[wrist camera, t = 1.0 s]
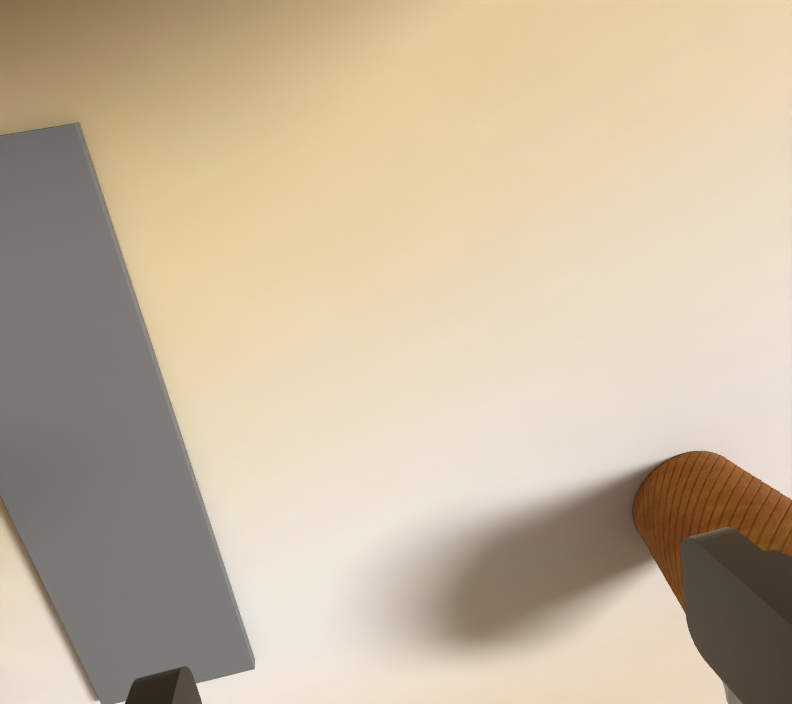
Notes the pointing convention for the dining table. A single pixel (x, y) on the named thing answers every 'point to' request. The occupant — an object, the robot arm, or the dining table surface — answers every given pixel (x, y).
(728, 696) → the disposable coffee cup
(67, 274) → the mat
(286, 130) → the dining table surface
